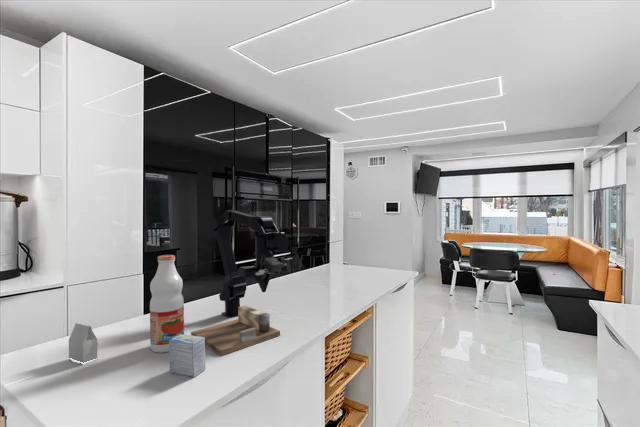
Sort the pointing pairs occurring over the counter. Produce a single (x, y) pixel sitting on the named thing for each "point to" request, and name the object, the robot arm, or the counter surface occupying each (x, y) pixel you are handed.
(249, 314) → the hinged leg
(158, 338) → the fruit juice
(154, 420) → the counter surface
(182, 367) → the medicine box
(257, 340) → the wooden board
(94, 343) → the grey milk carton
